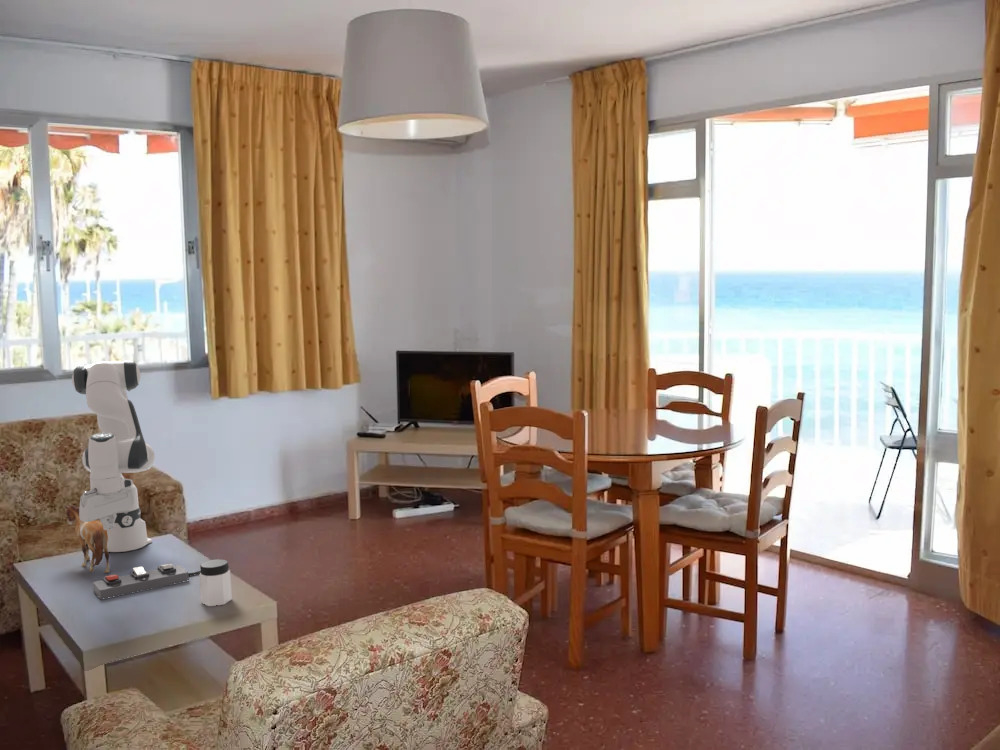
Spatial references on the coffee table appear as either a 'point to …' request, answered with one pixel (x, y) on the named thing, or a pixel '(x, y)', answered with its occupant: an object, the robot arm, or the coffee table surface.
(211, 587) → the jar
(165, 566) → the grey rocker end
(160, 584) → the grey switch panel
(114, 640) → the coffee table surface
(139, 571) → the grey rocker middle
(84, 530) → the horse figurine
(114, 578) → the red rocker
